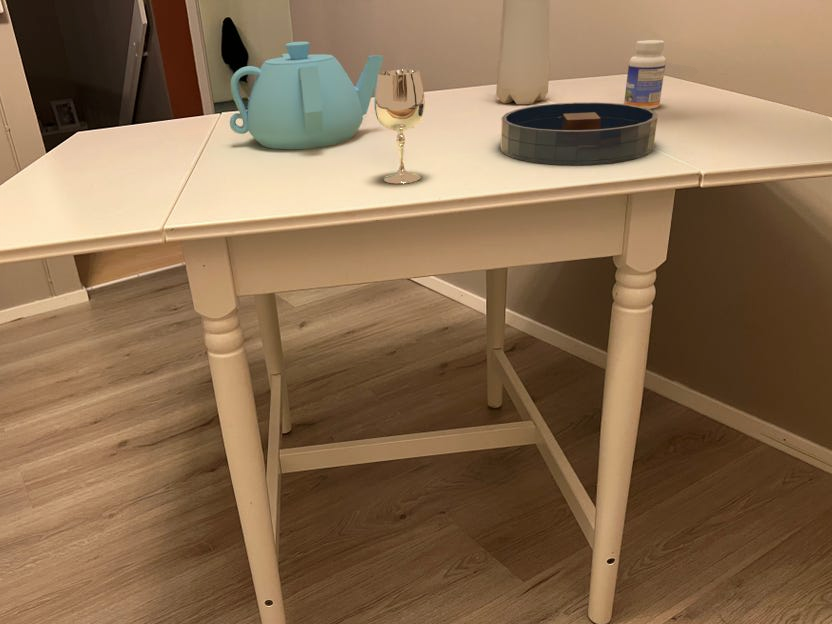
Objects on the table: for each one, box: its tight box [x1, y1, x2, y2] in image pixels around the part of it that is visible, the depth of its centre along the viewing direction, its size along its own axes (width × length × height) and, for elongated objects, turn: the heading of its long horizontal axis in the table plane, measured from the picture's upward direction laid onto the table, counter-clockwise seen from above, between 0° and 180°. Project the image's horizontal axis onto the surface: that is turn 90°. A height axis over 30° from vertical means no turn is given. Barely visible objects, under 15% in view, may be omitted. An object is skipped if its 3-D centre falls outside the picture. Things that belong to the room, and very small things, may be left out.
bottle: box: [495, 0, 551, 105], centre depth 119 cm, size 9×9×30 cm
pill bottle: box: [623, 39, 667, 110], centre depth 111 cm, size 5×5×10 cm
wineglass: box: [374, 68, 426, 185], centre depth 82 cm, size 6×6×12 cm
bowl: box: [500, 101, 659, 166], centre depth 92 cm, size 19×19×4 cm
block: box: [562, 112, 601, 130], centre depth 89 cm, size 4×4×4 cm
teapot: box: [229, 41, 384, 150], centre depth 107 cm, size 19×19×14 cm
